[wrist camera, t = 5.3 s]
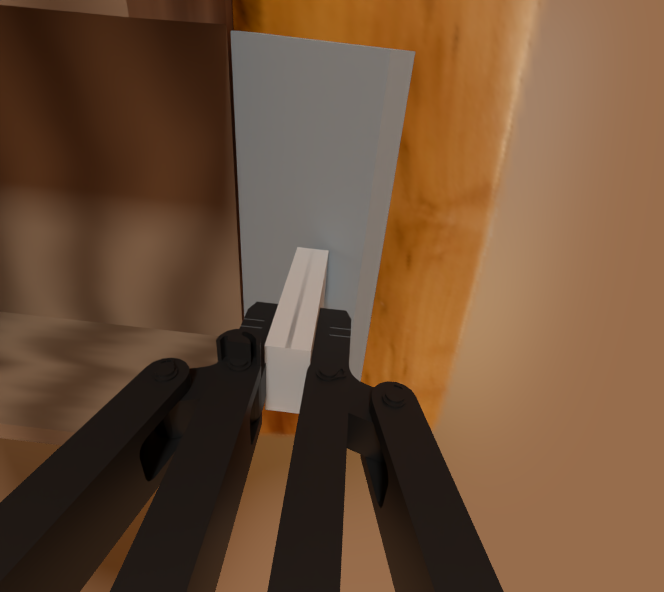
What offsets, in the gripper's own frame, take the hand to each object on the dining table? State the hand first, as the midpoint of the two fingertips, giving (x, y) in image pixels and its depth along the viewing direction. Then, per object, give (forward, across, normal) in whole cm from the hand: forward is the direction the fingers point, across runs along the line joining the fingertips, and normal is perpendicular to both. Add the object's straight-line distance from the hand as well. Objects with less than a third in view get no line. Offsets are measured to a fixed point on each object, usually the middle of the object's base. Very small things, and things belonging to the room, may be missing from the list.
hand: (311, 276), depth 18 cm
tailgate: (+5, -5, 0) cm, 7 cm away
